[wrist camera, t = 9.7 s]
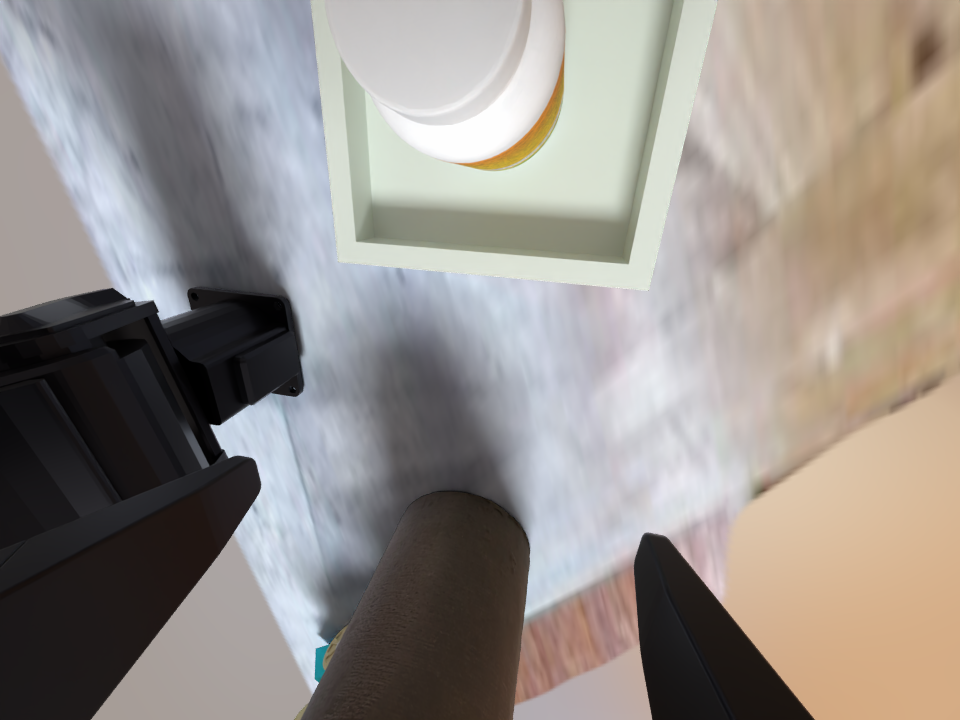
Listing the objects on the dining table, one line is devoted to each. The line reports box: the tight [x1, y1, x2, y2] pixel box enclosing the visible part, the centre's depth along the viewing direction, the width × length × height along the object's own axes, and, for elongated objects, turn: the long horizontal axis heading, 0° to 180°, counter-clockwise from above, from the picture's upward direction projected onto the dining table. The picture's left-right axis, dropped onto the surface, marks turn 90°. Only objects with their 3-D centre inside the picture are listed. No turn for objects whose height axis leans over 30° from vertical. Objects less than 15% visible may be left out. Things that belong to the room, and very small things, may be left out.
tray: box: [311, 0, 718, 291], centre depth 15 cm, size 14×14×2 cm
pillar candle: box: [300, 491, 530, 720], centre depth 21 cm, size 10×10×15 cm
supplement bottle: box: [324, 0, 566, 171], centre depth 11 cm, size 5×5×10 cm
